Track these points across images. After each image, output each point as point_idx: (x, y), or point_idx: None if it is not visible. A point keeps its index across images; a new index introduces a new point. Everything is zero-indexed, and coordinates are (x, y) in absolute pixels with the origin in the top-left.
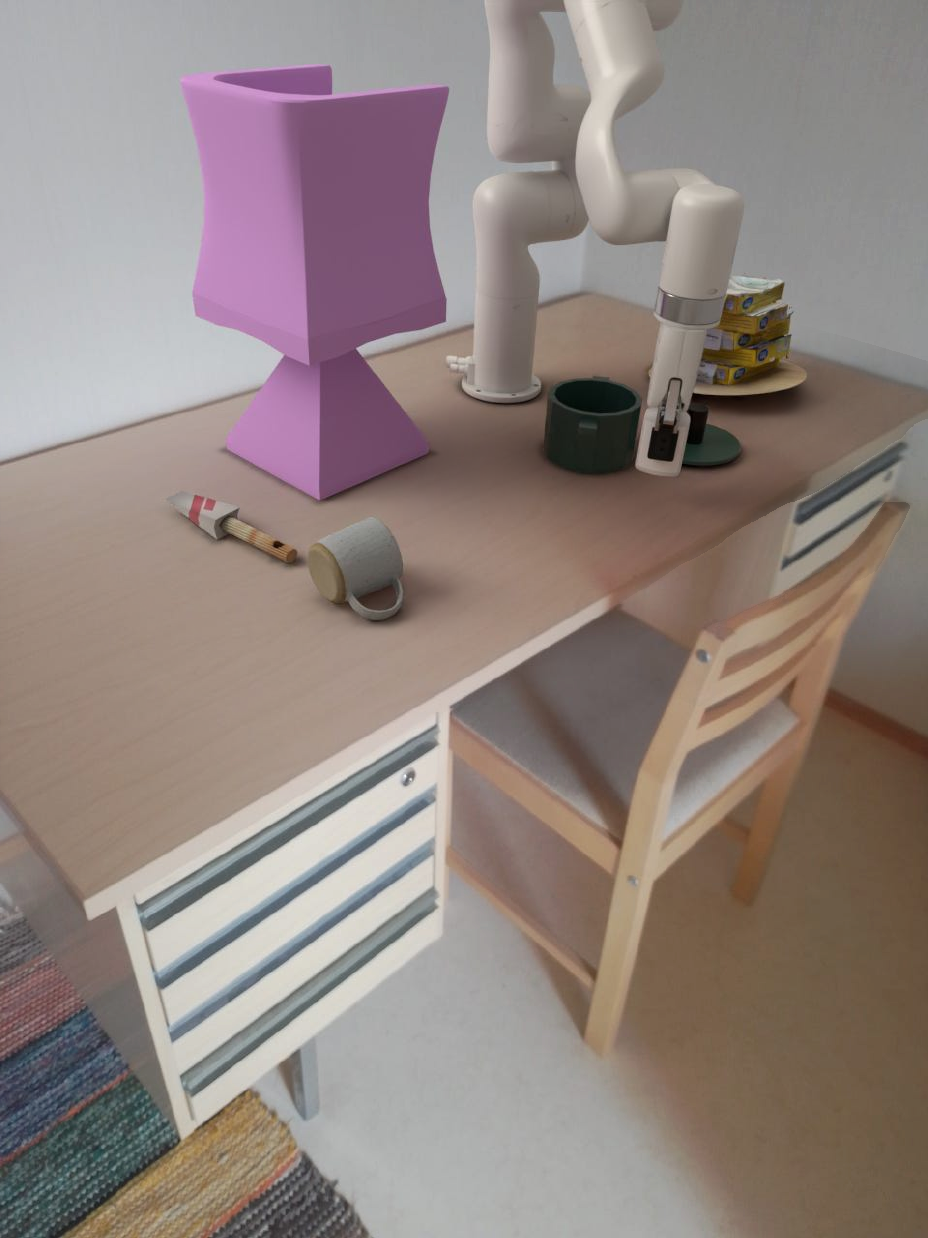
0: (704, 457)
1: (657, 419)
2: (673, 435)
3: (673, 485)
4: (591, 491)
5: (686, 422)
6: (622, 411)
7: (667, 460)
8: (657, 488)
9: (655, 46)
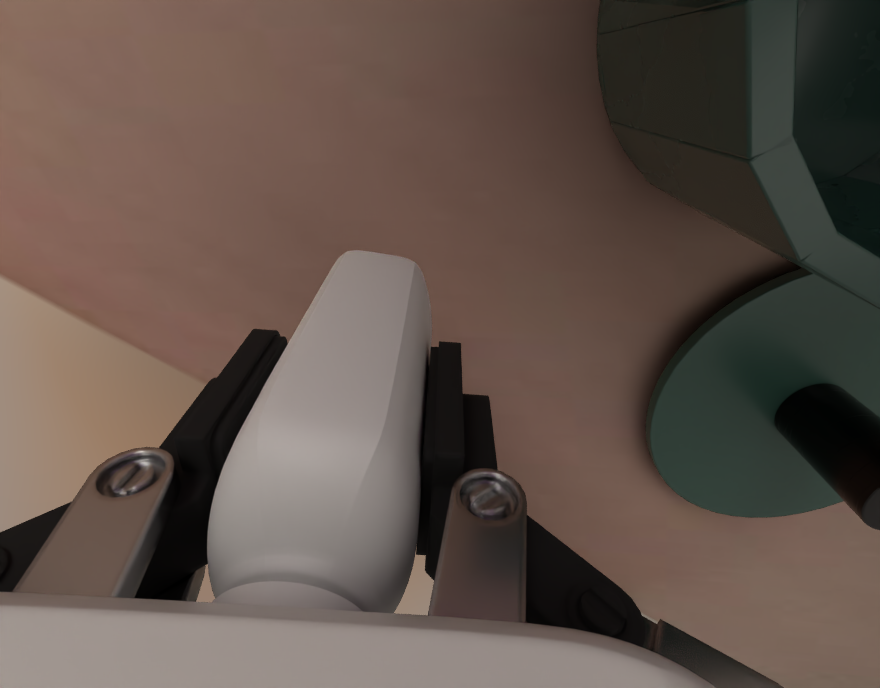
0: (679, 436)
1: (61, 534)
2: None
3: (531, 340)
4: (434, 39)
5: None
6: (804, 193)
7: None
8: (503, 294)
9: None
